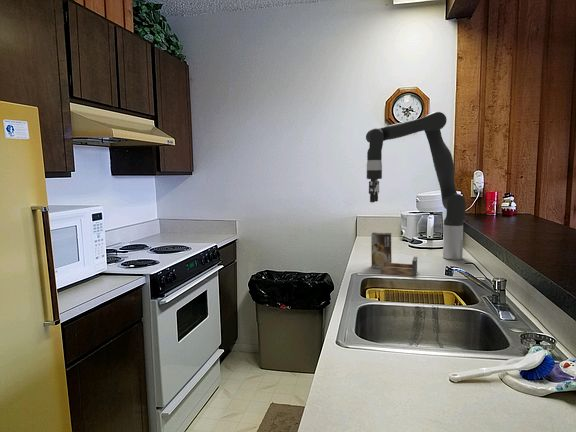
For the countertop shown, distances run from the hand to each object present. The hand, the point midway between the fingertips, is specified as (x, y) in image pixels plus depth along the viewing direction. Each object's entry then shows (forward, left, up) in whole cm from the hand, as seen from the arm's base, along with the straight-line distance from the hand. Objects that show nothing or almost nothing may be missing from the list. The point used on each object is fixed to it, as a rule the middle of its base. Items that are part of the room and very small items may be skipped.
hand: (374, 201), depth 203 cm
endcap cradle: (-15, +23, -30) cm, 41 cm away
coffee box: (-6, +15, -30) cm, 34 cm away
